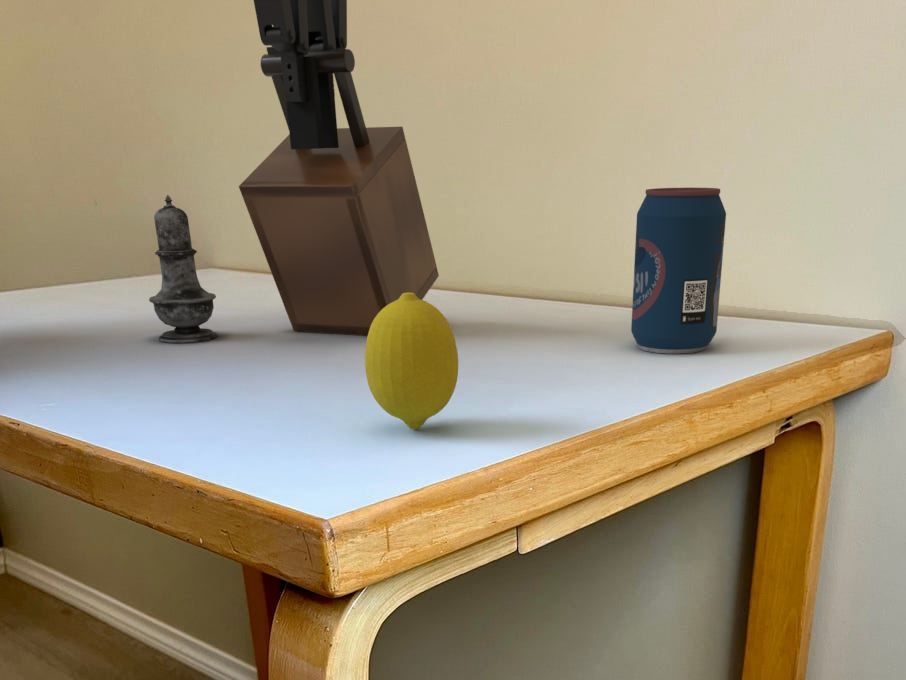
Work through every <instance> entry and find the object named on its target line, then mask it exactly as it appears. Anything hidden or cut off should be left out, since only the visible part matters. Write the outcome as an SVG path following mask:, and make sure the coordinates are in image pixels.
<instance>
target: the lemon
mask: <svg viewBox="0 0 906 680" xmlns="http://www.w3.org/2000/svg"><path fill="white" fill-rule="evenodd" d="M364 350H365V351H364V367H365V368H364V370H365V376H366V381H367V384H368V387H369V390H370V393H371V395H372V397H373V399H374V400H375V402H376V403H377V404H378V405H379V407H381V408H382V410H384V412H386V413H387V414H388V415H390V416H391V417H394V418H397V419H399V420H401V421H402V423H404V424H405V426H407V427H408V428H409V429H411V430H418V429H420V428H422V426H423V425H424V424H425V423H426V422H427V420H428V419H430V418H431V417H434V416H436V415H437V414H439V413H440V412H441V411H442V410H443V409H445V407H446V406H447V405H448V403H449V402H450V400H451V398H452V396H453V394H454V392H455V389H456V386H457V382H458V376H459V353H458V347H457V342H456V338H455V335H454V332H453V329H452V327H451V324H450V323H449V321H448V319H447V318H446V317H445V315H444V314H443V313H442V312H441V310H439V309H438V308H437V307H436V306H434V305H433V304H431V303H430V302H428V301H425V300H424V299H422V300H421V299H418V297H417V296H416V295H415V294H414V293H410V292H407V293H403V294H402V295H401V296H400V298H399V299H398V300H396V301H394V302H392V303H390V304H388V305H387V306H386V307H384V308H383V309H382V310H381V311H380V312H379V313H378V314H377V316H376V317H375V318H374V320H373V322H372V324H371V327H370V330H369V333H368V335H367V336H366V342H365V349H364Z"/></svg>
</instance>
